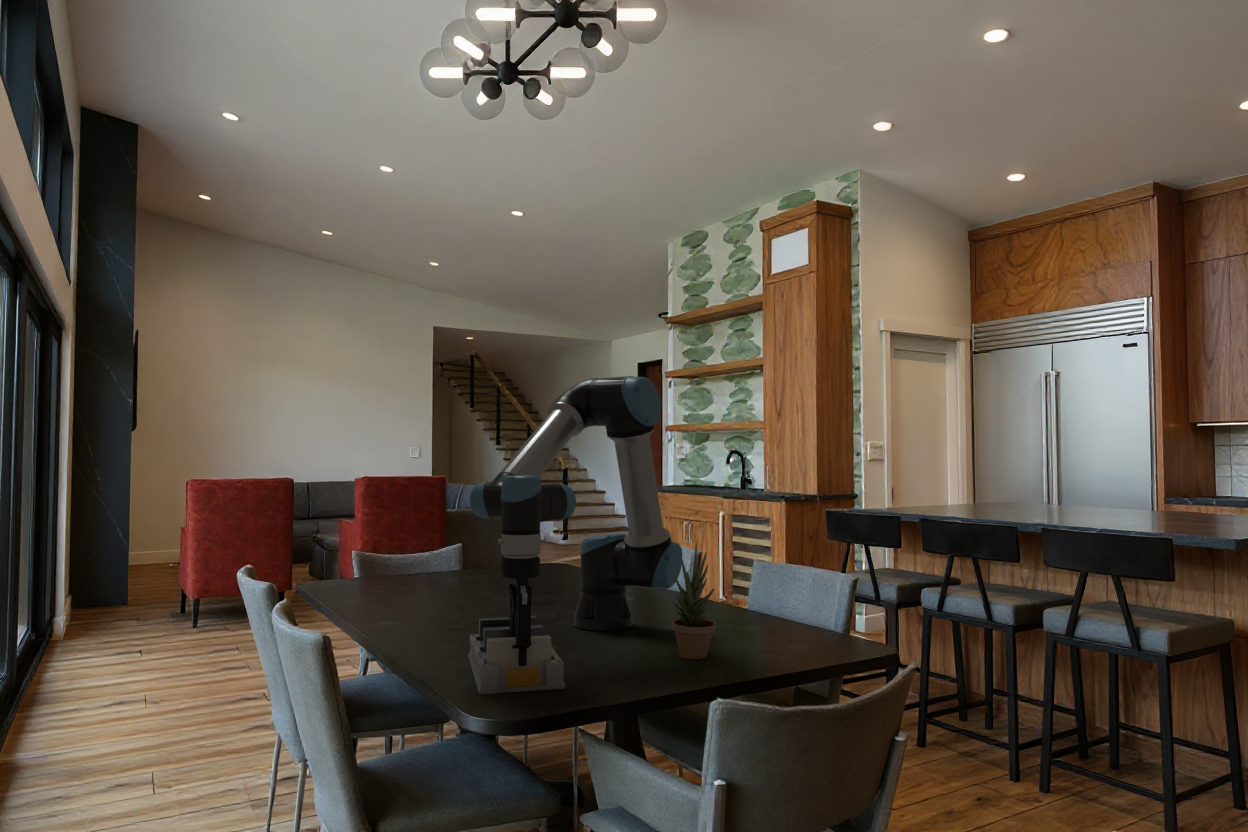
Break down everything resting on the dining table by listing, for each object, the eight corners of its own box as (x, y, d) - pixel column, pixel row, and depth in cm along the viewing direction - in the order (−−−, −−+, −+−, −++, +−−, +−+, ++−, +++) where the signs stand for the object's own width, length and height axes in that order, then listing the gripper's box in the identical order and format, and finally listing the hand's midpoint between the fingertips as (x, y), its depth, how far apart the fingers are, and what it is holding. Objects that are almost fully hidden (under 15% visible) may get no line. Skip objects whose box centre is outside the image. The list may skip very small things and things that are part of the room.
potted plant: (720, 660, 178) (720, 544, 179) (677, 662, 177) (677, 545, 178) (708, 649, 188) (708, 539, 189) (667, 650, 186) (667, 540, 188)
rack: (468, 656, 181) (468, 615, 181) (541, 652, 185) (541, 612, 185) (479, 695, 152) (479, 646, 152) (565, 689, 156) (565, 641, 156)
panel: (486, 681, 159) (486, 638, 159) (548, 676, 162) (549, 635, 162) (487, 684, 156) (488, 641, 156) (550, 680, 159) (551, 638, 159)
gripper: (496, 550, 168) (494, 667, 167) (506, 562, 150) (505, 692, 149) (533, 549, 170) (532, 664, 169) (547, 561, 152) (546, 690, 151)
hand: (519, 677), depth 159 cm, fingers open, 5 cm apart
